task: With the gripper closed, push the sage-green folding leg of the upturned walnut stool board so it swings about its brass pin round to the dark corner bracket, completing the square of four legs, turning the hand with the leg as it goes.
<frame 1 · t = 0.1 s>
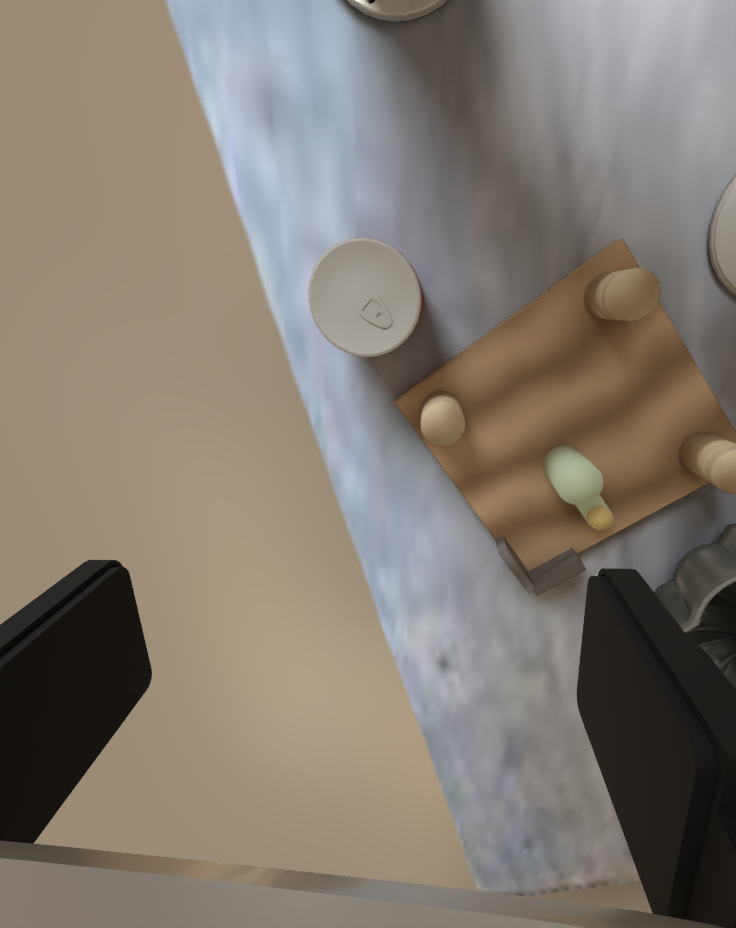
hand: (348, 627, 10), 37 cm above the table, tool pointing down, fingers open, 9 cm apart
canned food: (379, 300, 43), on the table
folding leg: (585, 495, 41), point 5 cm above the table, hinge at 0.0°
stool board: (562, 425, 45), on the table
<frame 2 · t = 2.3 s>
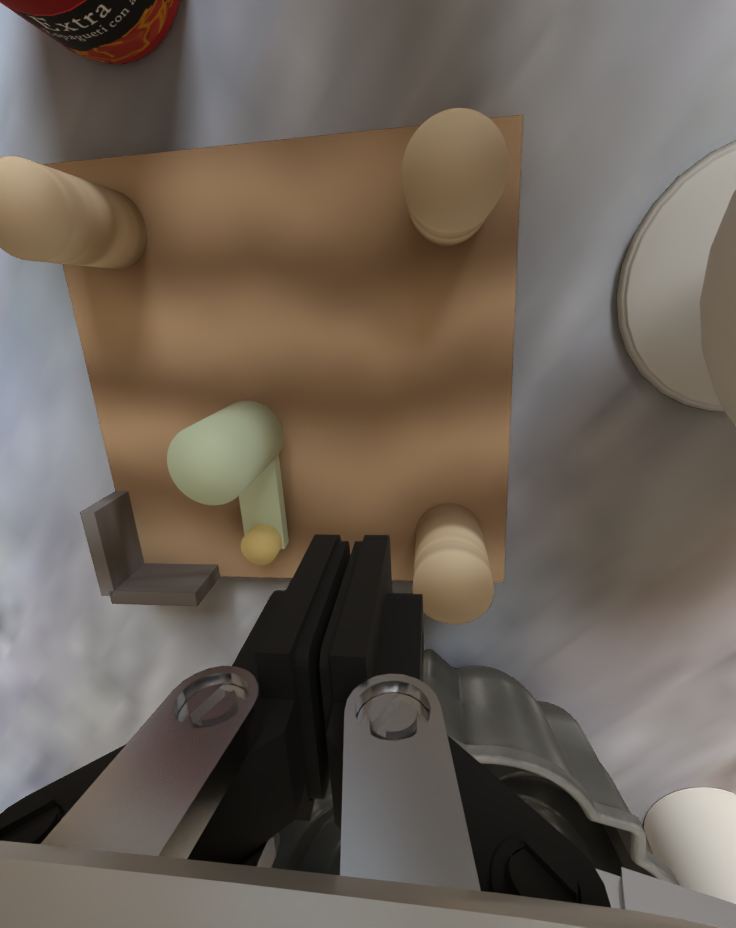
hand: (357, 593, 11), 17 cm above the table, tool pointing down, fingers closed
cylindrical container: (698, 823, 33), on the table
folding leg: (242, 498, 23), point 5 cm above the table, hinge at 0.0°
bundt pan: (419, 757, 35), on the table
stool board: (300, 384, 27), on the table
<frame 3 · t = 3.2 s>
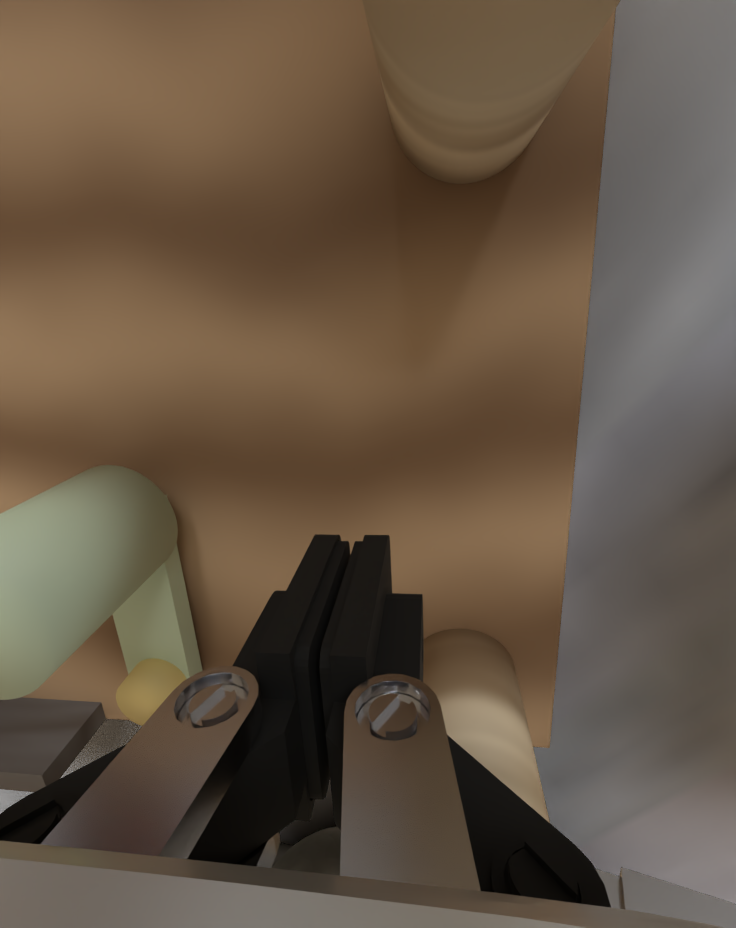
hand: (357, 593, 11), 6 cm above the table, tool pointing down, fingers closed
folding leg: (96, 641, 13), point 5 cm above the table, hinge at 0.0°
stool board: (218, 427, 16), on the table
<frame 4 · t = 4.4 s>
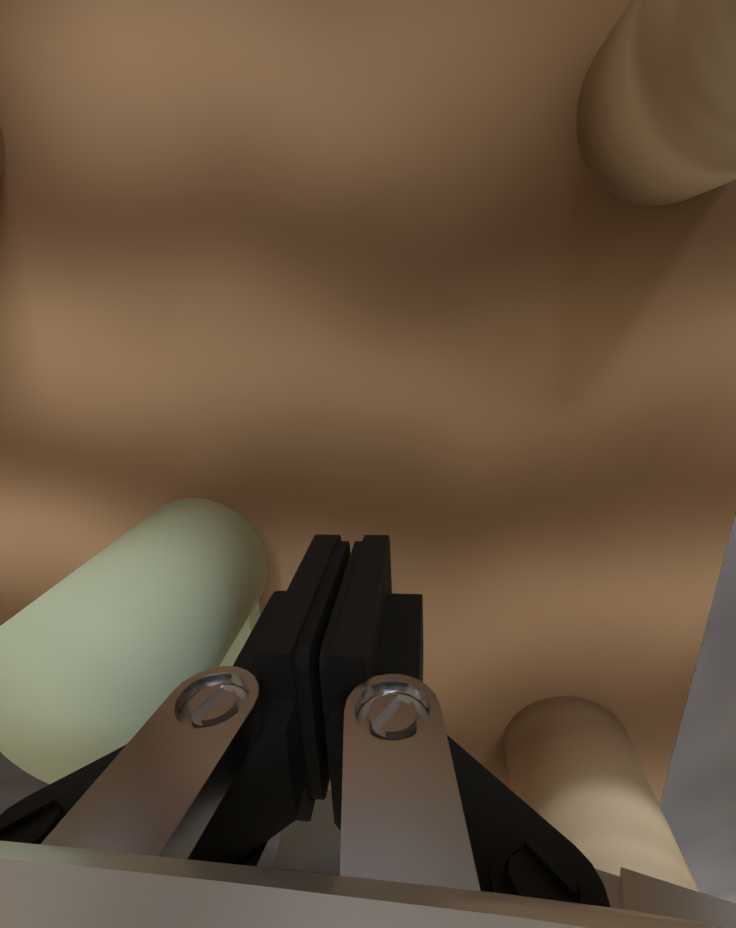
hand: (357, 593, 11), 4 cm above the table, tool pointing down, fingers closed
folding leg: (175, 704, 11), point 5 cm above the table, hinge at 0.5°, touching gripper
stool board: (306, 455, 15), on the table
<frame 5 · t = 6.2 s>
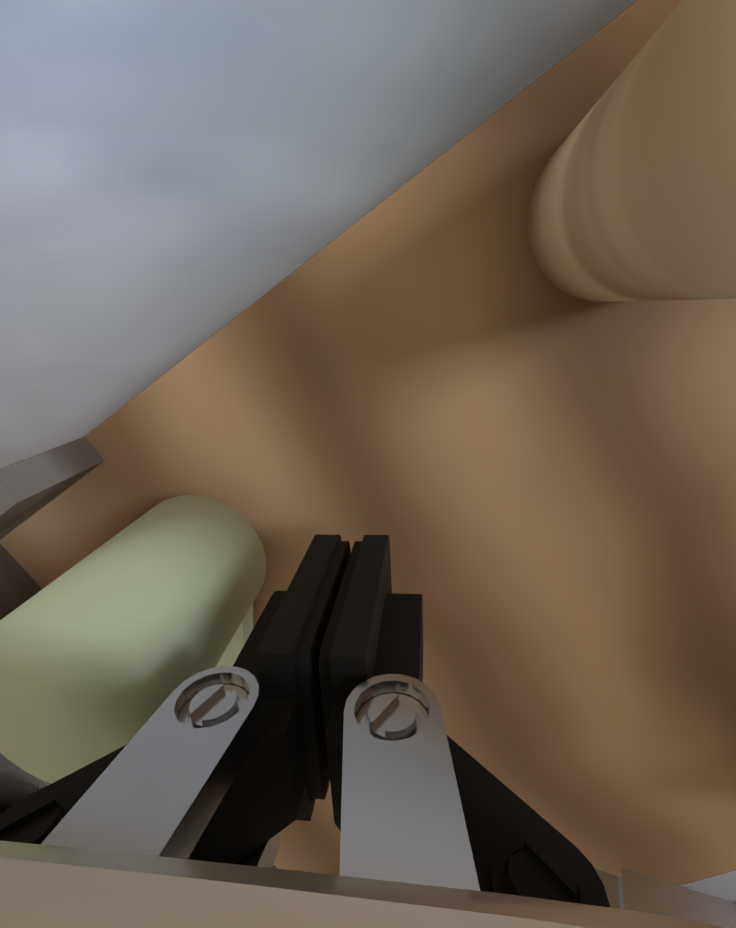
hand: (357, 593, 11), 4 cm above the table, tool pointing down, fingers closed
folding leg: (166, 701, 11), point 5 cm above the table, hinge at 51.7°, touching gripper
stool board: (469, 608, 16), on the table
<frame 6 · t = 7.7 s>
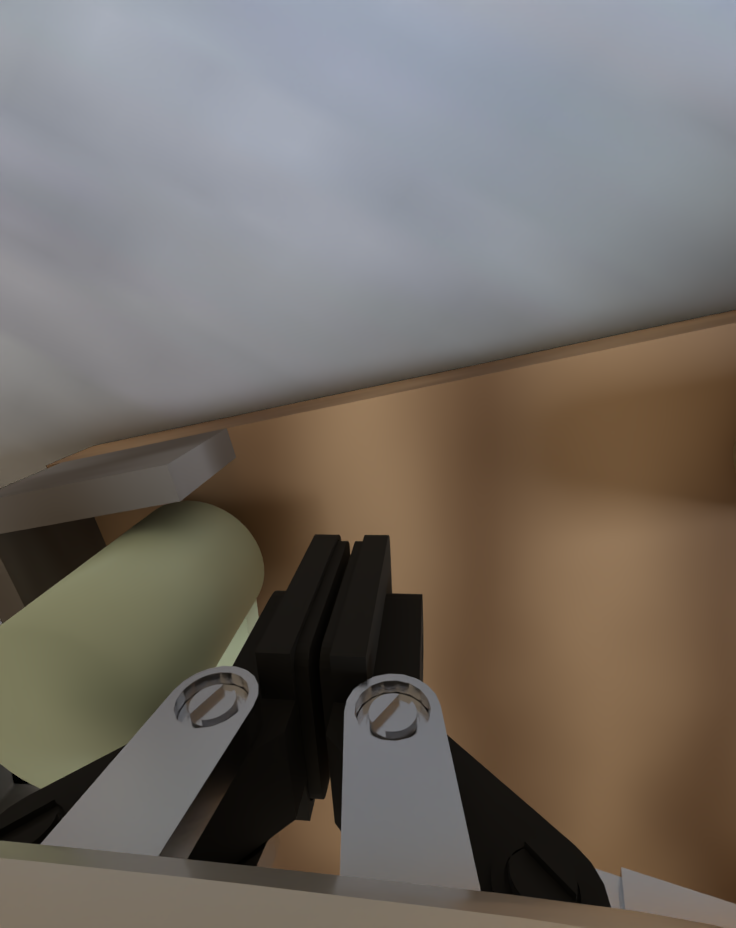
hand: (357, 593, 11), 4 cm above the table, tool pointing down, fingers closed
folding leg: (174, 707, 11), point 5 cm above the table, hinge at 79.0°
stool board: (497, 692, 16), on the table
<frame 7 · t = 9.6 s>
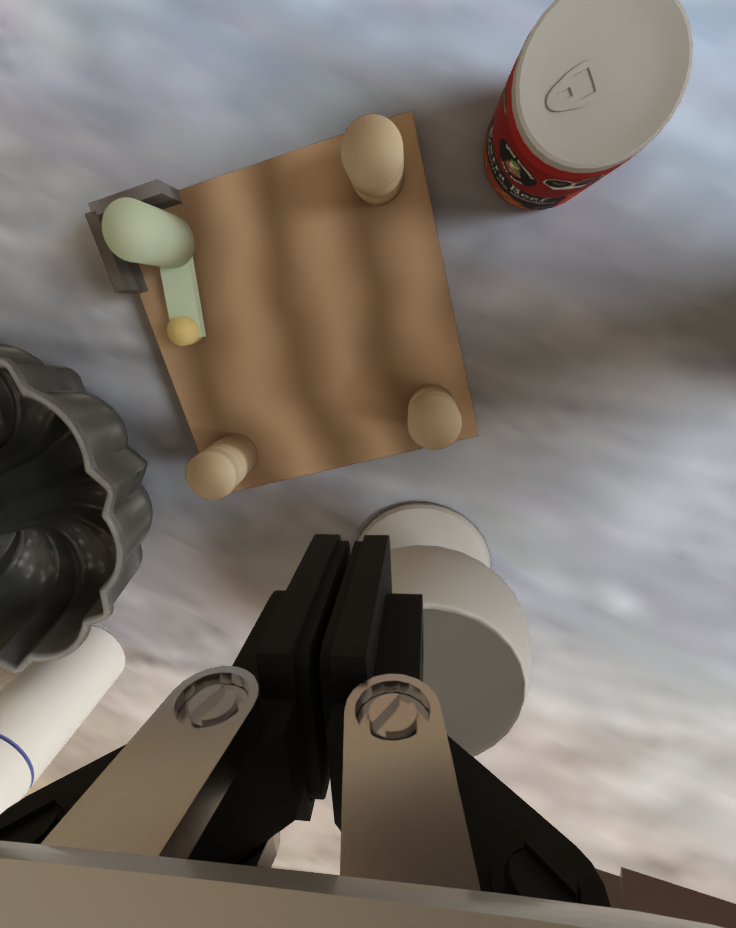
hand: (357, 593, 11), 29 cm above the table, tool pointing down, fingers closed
cylindrical container: (92, 653, 49), on the table
chalice: (420, 563, 43), on the table
canned food: (540, 150, 33), on the table
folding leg: (162, 280, 32), point 5 cm above the table, hinge at 79.2°
bundt pan: (45, 473, 44), on the table
stool board: (306, 327, 37), on the table
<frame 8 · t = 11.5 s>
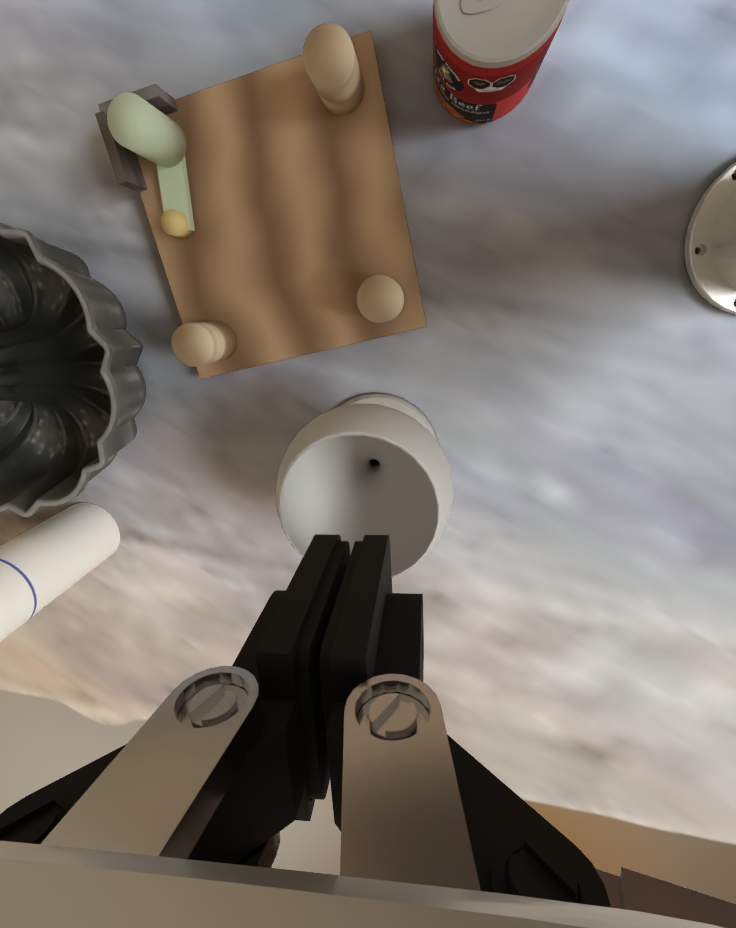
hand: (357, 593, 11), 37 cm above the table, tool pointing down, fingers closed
cylindrical container: (92, 530, 56), on the table
chalice: (378, 451, 49), on the table
canned food: (483, 71, 38), on the table
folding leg: (157, 172, 38), point 5 cm above the table, hinge at 79.2°
bundt pan: (56, 360, 50), on the table
stool board: (281, 229, 43), on the table
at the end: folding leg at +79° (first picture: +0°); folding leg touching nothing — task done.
